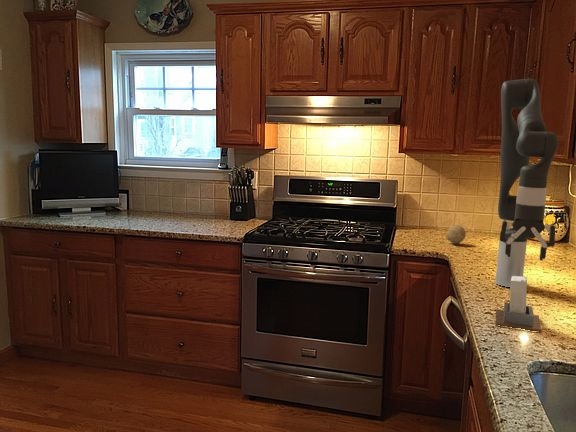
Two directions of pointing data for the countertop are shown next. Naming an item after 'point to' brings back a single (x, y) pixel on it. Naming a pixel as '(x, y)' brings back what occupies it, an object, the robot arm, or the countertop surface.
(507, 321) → the collar
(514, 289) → the skincare box
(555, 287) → the countertop surface
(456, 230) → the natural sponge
